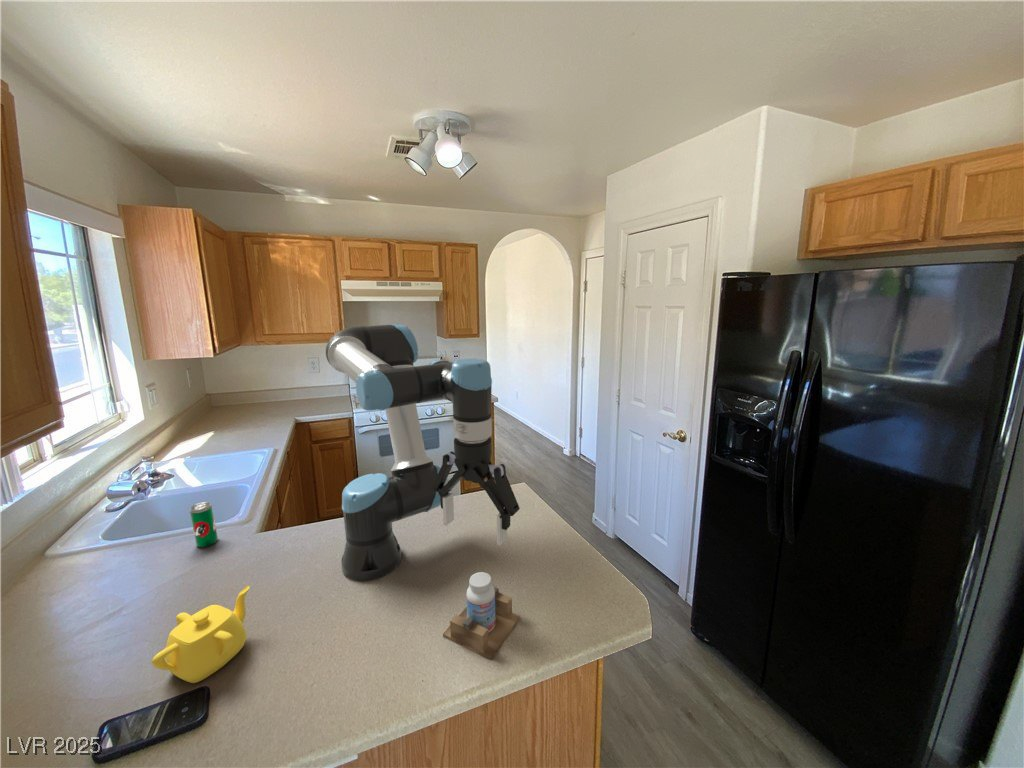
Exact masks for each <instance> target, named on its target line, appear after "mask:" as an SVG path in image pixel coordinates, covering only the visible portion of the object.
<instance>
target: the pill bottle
mask: <svg viewBox="0 0 1024 768" xmlns="http://www.w3.org/2000/svg"><path fill="white" fill-rule="evenodd" d="M468 583H469V585H468V588H467V590H466V595H465V596H466V607H467V618H468V617H472V618H474V623H476V624H478V625H480V626H482V627H485V628H487V629H488V633H489V632H490V631H492V630H493V628H494V626H495V590H494V587H495V586H493V585H492V583H493V582H492V576H491V575H490V574H489V573H487V572H483V571H481V572H480V571H478V572H476V573H474V574H472V575H471V576H470V578H469V582H468Z"/></svg>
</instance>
